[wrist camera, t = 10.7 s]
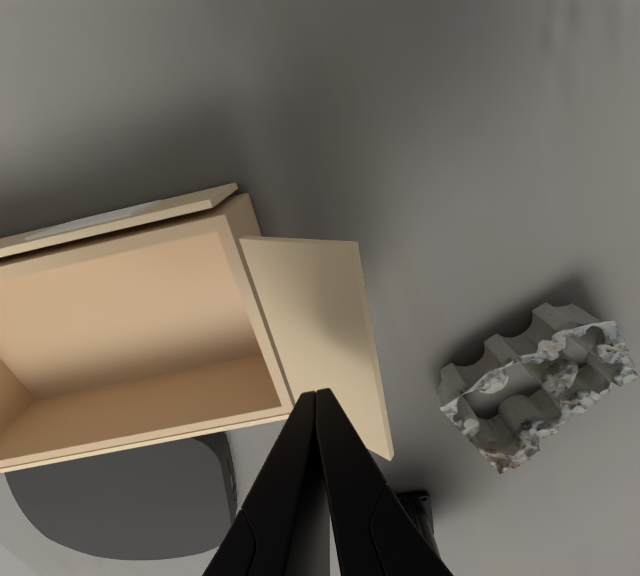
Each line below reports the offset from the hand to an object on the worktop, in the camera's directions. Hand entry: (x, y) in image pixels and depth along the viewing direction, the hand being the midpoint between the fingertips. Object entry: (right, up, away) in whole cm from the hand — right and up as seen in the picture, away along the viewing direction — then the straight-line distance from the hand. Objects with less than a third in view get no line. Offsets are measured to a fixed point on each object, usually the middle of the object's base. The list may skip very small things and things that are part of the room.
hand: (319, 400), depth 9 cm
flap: (-2, +1, +4) cm, 5 cm away
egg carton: (+13, -2, +13) cm, 18 cm away
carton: (-11, +2, +9) cm, 15 cm away
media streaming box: (-14, -11, +16) cm, 25 cm away
